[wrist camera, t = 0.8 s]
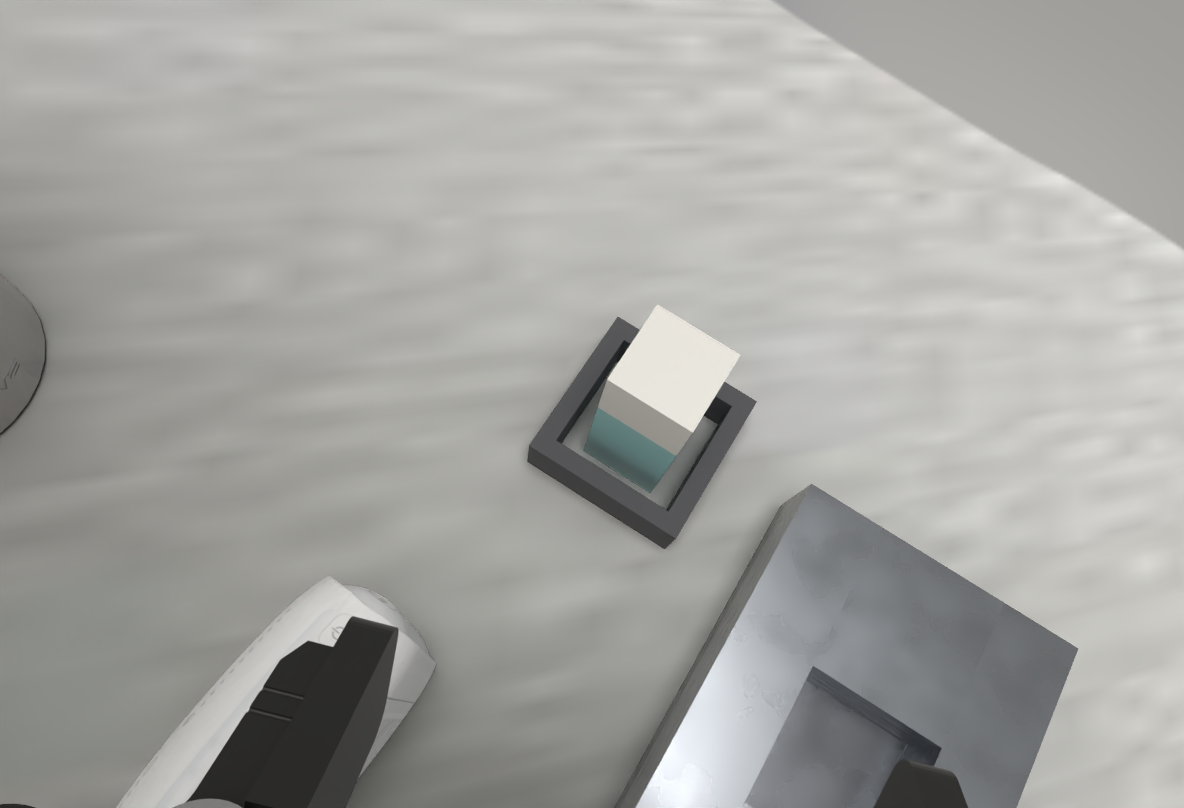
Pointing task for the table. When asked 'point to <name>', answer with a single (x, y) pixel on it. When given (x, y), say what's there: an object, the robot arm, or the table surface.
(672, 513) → the dark grey square frame
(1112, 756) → the table surface
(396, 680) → the photo printer
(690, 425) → the plug
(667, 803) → the block
